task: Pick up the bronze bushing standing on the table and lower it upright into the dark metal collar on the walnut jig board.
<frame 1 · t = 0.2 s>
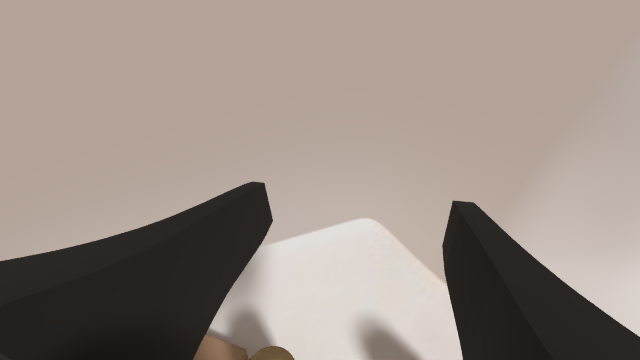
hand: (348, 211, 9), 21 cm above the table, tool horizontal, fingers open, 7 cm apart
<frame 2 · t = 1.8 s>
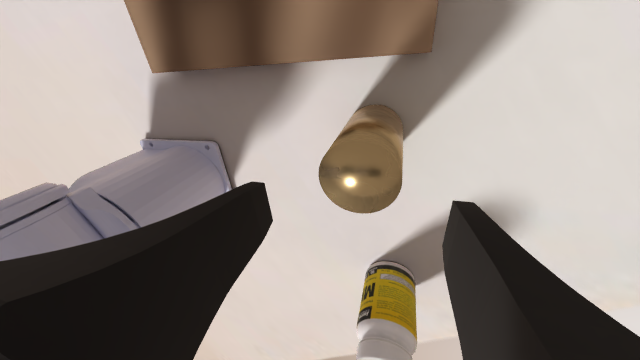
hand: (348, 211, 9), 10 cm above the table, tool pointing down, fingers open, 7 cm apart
bushing: (374, 132, 17), on the table
supplement bottle: (389, 274, 24), on the table
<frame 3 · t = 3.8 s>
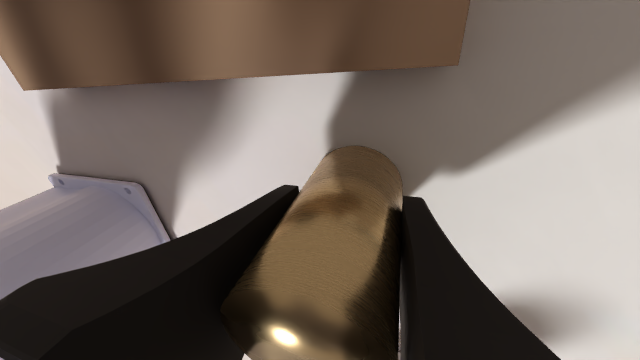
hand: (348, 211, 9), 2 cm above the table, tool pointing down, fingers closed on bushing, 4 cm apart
bushing: (356, 186, 11), on the table, touching gripper
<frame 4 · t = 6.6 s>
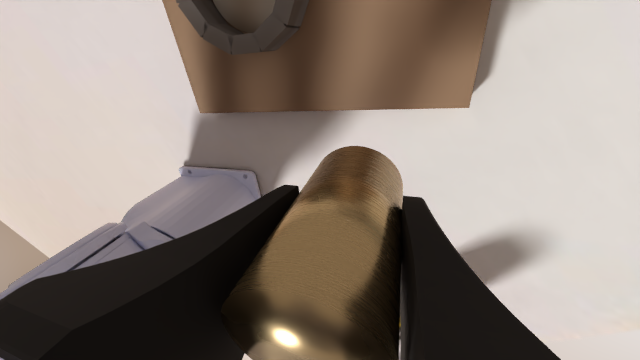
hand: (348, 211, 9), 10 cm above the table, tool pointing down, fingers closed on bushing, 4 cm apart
bushing: (356, 186, 11), point 8 cm above the table, touching gripper
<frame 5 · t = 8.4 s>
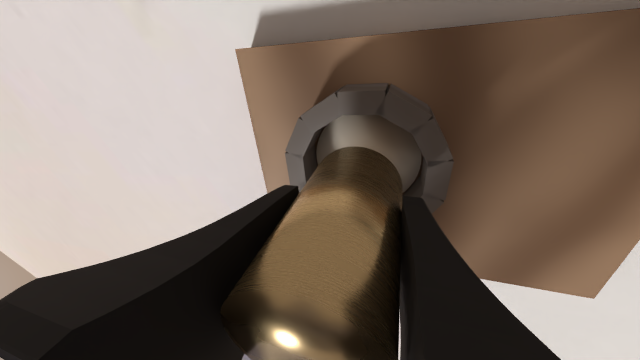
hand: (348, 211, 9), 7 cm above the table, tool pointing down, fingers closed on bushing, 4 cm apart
bushing: (356, 187, 11), point 5 cm above the table, touching gripper
jig board: (419, 166, 14), on the table
when the fingers open (4 cm above the table, at t = 9.7 s): bushing stays where it is, resting on jig board.
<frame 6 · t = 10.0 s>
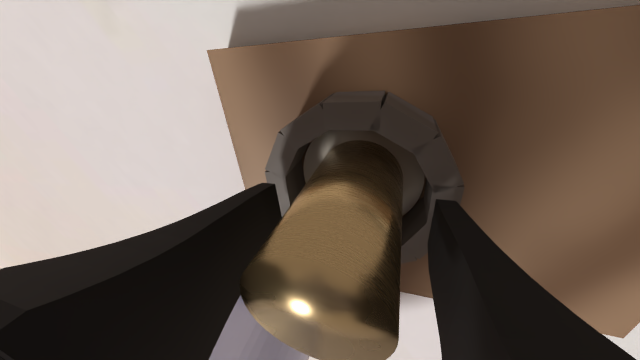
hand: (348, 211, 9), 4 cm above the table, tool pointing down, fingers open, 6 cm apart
bushing: (359, 179, 11), point 2 cm above the table, touching jig board
jig board: (421, 183, 12), on the table
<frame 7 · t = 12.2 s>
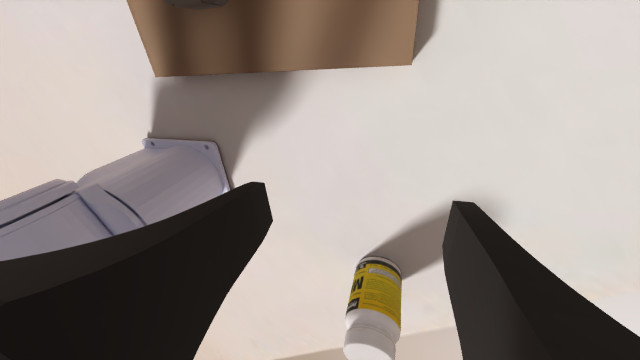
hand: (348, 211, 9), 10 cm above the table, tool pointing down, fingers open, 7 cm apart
supplement bottle: (378, 269, 25), on the table
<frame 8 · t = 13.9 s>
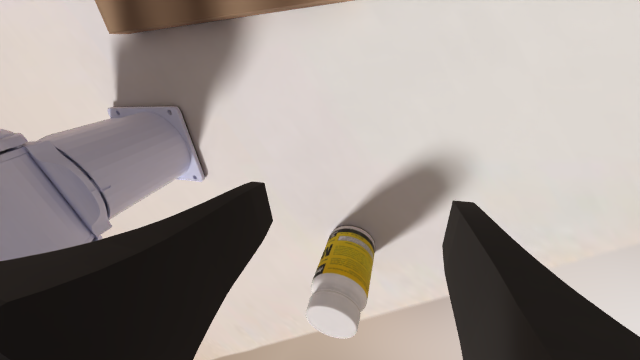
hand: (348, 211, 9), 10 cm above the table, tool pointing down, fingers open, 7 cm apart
supplement bottle: (352, 241, 24), on the table
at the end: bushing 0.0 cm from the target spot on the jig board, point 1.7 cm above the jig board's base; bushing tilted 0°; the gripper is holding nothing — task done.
